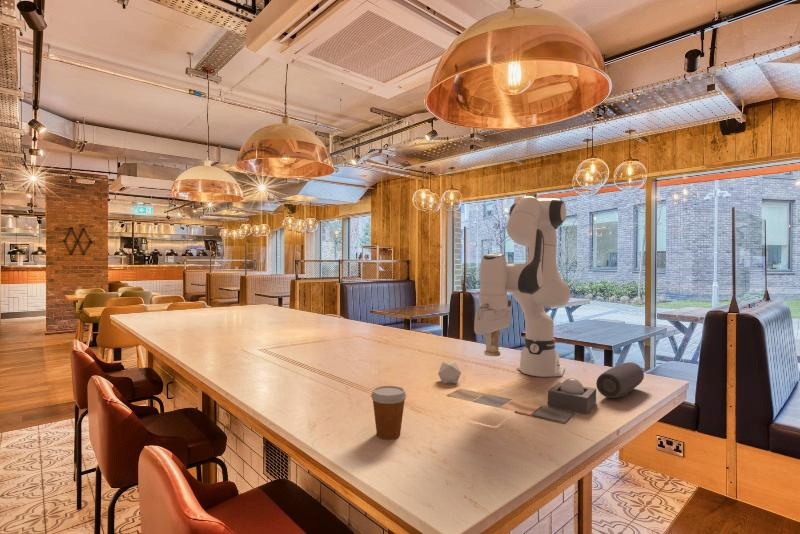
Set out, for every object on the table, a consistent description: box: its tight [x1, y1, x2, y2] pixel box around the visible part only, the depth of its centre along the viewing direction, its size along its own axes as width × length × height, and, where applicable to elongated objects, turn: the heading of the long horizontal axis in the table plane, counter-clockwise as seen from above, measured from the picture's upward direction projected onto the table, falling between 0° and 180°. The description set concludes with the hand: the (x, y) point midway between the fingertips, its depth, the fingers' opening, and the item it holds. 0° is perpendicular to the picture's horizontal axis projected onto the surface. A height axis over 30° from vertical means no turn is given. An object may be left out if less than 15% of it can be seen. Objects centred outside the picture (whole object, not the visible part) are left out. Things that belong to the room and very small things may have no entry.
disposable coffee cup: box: [370, 385, 407, 440], centre depth 118 cm, size 10×10×12 cm
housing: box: [547, 382, 597, 415], centre depth 143 cm, size 12×12×5 cm
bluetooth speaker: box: [596, 362, 645, 399], centre depth 155 cm, size 23×9×10 cm, turn 135°
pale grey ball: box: [560, 377, 584, 395], centre depth 143 cm, size 7×7×7 cm
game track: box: [445, 388, 575, 425], centre depth 142 cm, size 10×40×1 cm, turn 54°
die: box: [437, 361, 462, 385], centre depth 166 cm, size 8×9×10 cm
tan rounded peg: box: [483, 331, 501, 357], centre depth 145 cm, size 5×5×8 cm
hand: (492, 344), depth 145 cm, fingers closed on tan rounded peg, 4 cm apart
